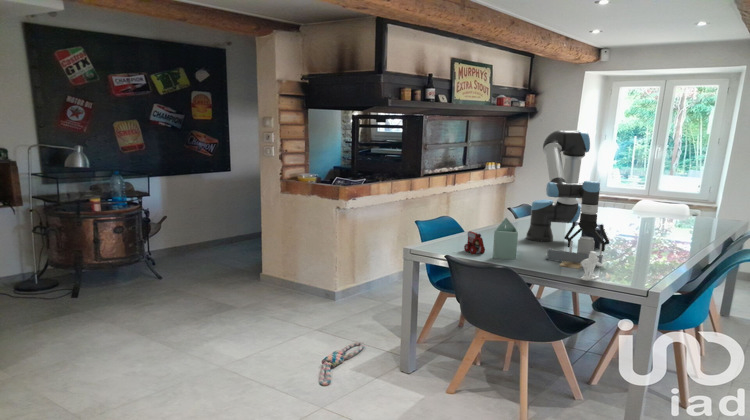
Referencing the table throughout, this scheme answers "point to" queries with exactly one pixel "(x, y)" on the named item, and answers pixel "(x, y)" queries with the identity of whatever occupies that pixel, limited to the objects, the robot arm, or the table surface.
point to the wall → (569, 256)
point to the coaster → (571, 264)
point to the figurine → (590, 266)
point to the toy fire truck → (474, 243)
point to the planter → (505, 241)
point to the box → (594, 237)
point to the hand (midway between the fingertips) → (585, 255)
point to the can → (585, 245)
